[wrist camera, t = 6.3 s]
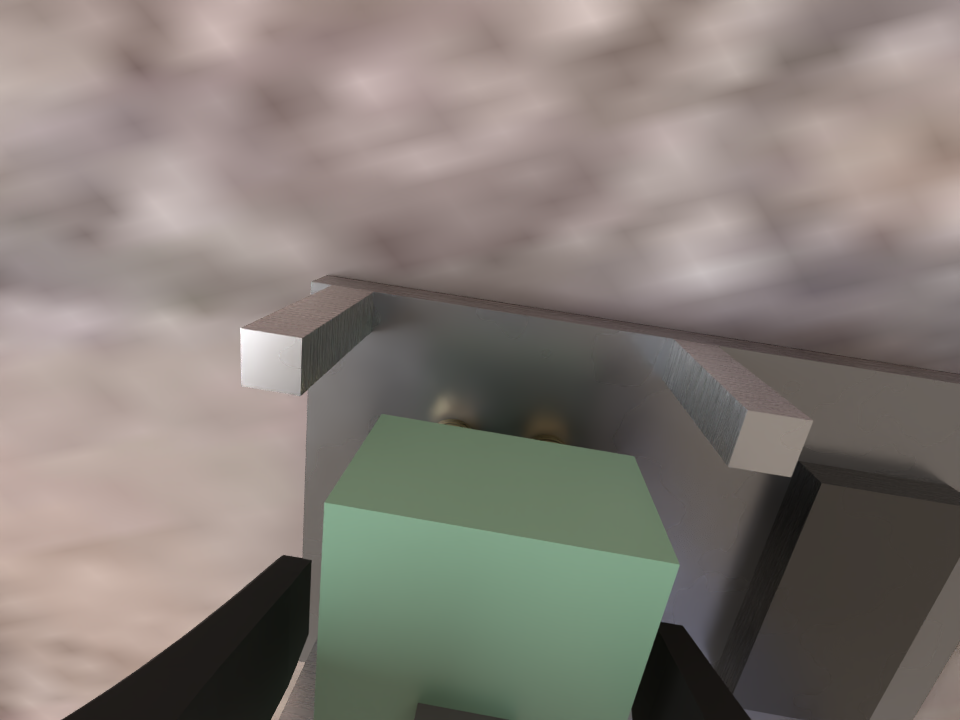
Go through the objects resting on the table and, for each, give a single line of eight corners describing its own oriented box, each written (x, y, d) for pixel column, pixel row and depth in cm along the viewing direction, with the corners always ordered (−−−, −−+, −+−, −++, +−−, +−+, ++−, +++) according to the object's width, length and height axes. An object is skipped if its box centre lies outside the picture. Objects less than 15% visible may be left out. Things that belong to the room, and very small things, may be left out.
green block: (633, 456, 10) (688, 585, 6) (555, 740, 12) (567, 933, 9) (381, 413, 10) (312, 520, 7) (356, 703, 12) (297, 880, 9)
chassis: (1054, 389, 12) (1399, 515, 7) (862, 734, 16) (1005, 962, 11) (327, 275, 13) (210, 323, 8) (312, 634, 17) (227, 810, 12)
